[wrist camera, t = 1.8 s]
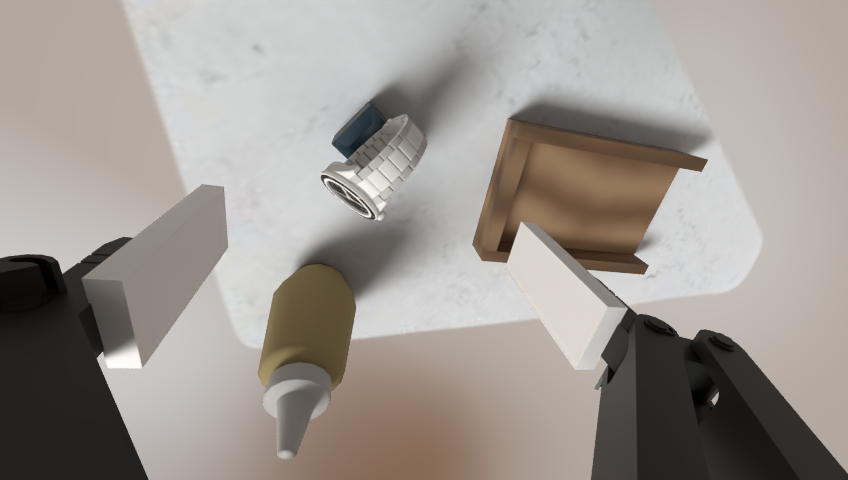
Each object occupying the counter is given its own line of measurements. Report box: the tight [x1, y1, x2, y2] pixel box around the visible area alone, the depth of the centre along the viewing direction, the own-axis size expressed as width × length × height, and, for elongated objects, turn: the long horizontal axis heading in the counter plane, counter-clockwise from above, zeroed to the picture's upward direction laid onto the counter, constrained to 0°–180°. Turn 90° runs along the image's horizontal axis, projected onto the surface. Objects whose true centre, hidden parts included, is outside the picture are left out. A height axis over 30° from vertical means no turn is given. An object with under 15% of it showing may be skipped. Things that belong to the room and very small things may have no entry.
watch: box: [320, 101, 427, 221], centre depth 26 cm, size 6×8×11 cm
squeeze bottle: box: [258, 264, 356, 459], centre depth 29 cm, size 8×8×18 cm
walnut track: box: [472, 119, 708, 274], centre depth 35 cm, size 13×20×4 cm
